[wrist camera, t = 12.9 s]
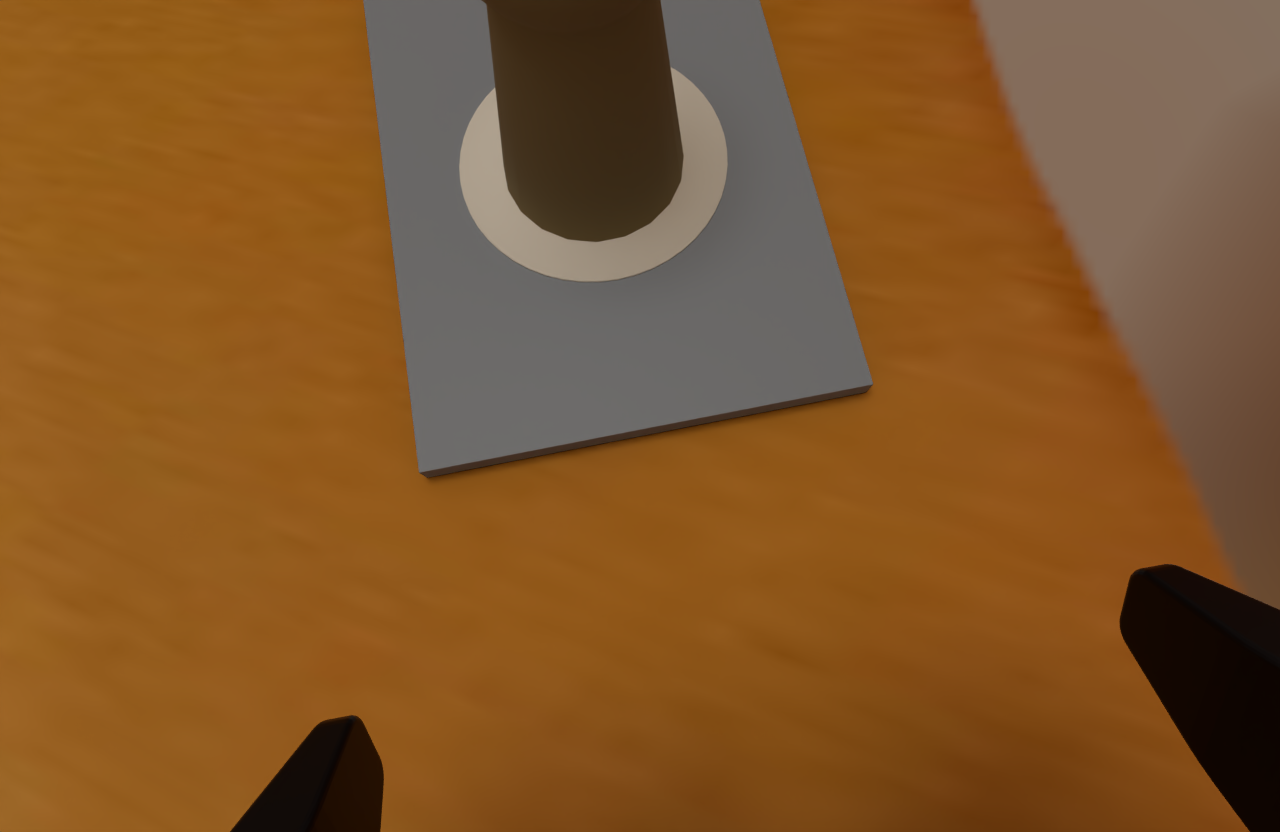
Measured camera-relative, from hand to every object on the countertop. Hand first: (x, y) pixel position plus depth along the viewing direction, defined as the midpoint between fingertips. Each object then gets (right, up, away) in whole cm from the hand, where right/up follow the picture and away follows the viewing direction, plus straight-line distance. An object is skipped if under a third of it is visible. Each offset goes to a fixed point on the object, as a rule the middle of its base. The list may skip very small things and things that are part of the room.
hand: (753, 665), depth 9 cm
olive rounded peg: (-3, +11, +17) cm, 20 cm away
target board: (-3, +11, +17) cm, 21 cm away
